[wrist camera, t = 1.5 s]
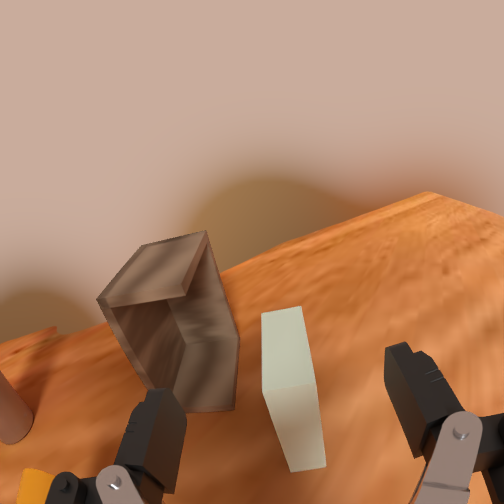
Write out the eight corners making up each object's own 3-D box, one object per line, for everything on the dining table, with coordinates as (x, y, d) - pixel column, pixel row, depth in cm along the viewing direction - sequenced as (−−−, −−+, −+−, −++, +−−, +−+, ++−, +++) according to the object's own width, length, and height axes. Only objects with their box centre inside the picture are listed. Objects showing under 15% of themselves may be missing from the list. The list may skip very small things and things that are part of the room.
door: (290, 472, 24) (262, 391, 18) (286, 406, 32) (261, 313, 26) (326, 466, 23) (315, 382, 18) (316, 401, 31) (300, 305, 26)
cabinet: (163, 413, 34) (96, 299, 27) (183, 346, 47) (141, 245, 40) (280, 404, 32) (243, 272, 25) (276, 332, 45) (248, 220, 38)
